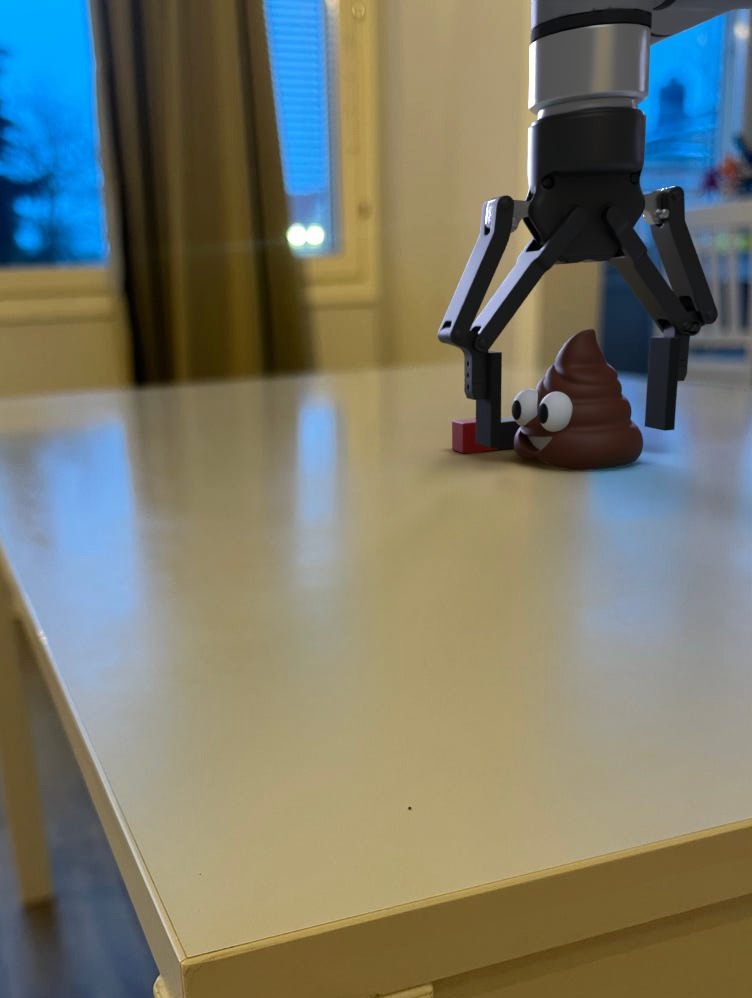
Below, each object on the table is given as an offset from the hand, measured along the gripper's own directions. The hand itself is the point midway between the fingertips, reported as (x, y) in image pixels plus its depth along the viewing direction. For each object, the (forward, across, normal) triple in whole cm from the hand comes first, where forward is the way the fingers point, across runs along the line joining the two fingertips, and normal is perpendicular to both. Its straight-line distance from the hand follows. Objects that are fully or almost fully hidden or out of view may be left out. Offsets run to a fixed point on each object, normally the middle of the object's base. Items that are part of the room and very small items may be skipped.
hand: (574, 437), depth 73 cm
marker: (+2, -1, -9) cm, 9 cm away
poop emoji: (+2, 0, 0) cm, 2 cm away
